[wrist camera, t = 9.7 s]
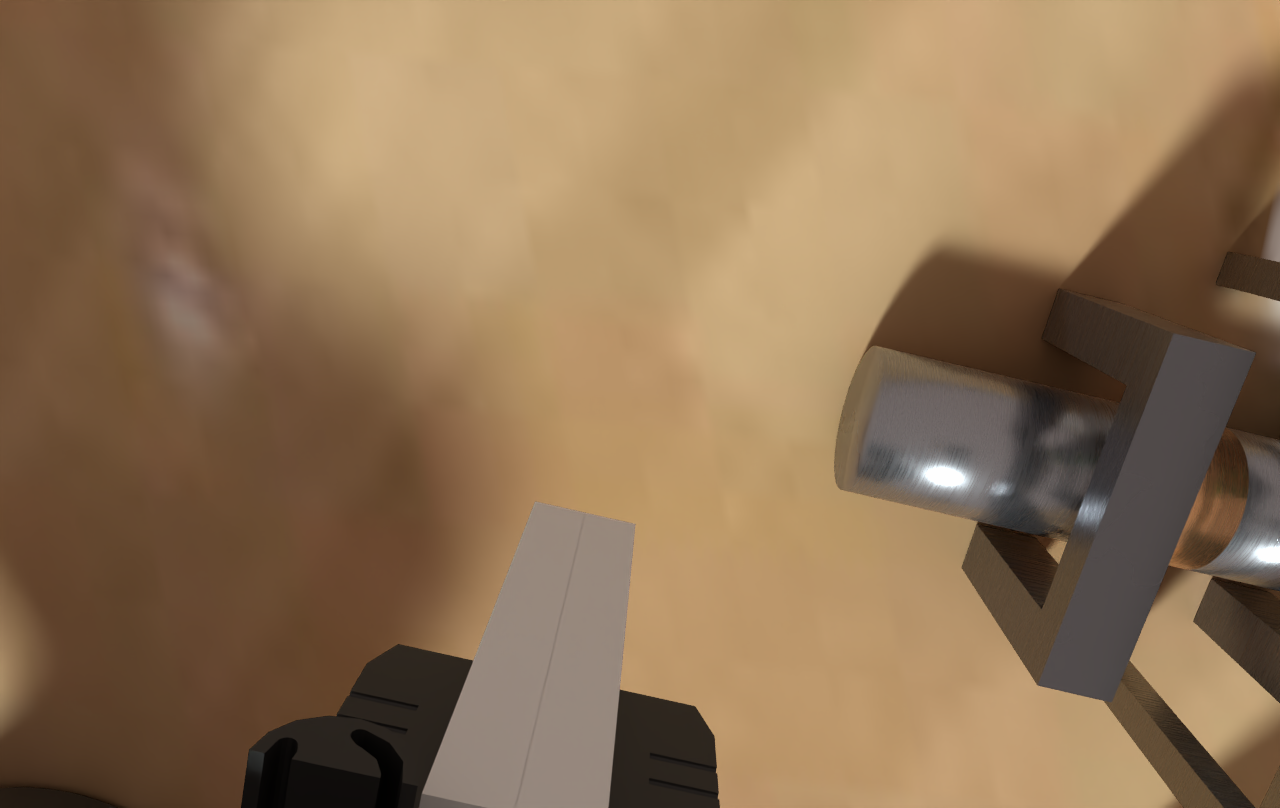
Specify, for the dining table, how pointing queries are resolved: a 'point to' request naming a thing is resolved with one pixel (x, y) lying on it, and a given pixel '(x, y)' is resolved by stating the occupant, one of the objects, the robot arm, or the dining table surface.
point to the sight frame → (1136, 704)
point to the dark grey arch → (1114, 497)
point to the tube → (1036, 460)
